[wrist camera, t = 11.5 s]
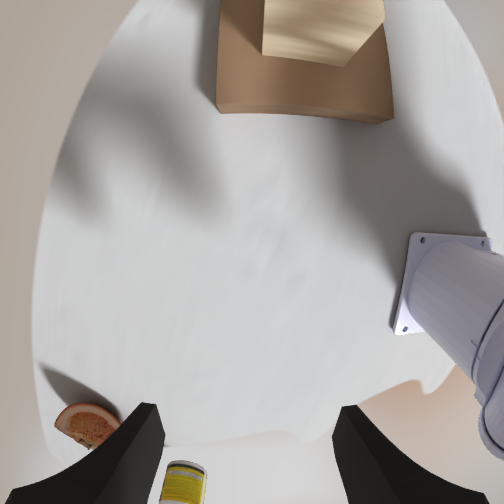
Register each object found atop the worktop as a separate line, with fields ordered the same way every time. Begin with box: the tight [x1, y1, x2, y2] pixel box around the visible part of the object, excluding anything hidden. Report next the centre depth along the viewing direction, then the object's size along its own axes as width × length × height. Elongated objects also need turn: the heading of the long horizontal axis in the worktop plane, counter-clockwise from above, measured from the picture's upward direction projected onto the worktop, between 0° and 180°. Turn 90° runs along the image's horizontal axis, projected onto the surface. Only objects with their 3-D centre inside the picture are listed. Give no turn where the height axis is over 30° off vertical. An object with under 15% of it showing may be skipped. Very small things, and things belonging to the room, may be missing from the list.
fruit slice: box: [54, 403, 121, 450], centre depth 20 cm, size 8×7×5 cm
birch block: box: [262, 0, 385, 68], centre depth 9 cm, size 4×4×6 cm
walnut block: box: [216, 0, 394, 124], centre depth 13 cm, size 10×10×3 cm
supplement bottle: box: [159, 461, 207, 504], centre depth 20 cm, size 5×5×8 cm
